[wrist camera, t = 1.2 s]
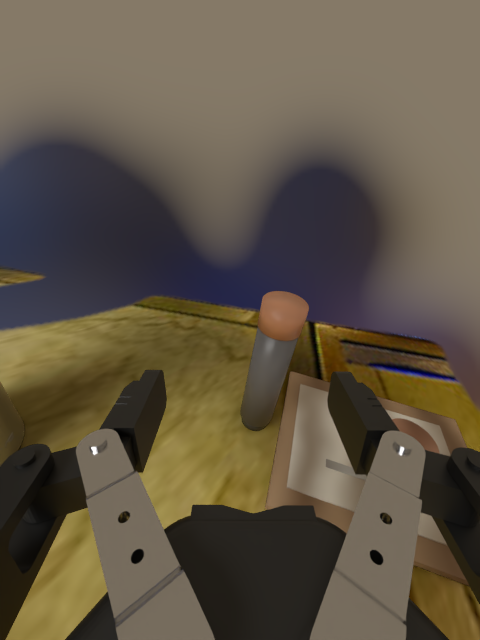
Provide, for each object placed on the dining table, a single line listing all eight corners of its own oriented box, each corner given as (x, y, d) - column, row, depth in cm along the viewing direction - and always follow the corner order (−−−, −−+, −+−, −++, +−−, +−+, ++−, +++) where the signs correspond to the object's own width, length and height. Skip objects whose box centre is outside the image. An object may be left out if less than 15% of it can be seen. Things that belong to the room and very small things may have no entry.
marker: (234, 427, 30) (257, 309, 21) (243, 401, 33) (267, 287, 24) (267, 438, 30) (307, 322, 20) (273, 410, 33) (310, 297, 23)
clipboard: (264, 508, 24) (268, 501, 23) (289, 375, 38) (292, 366, 37) (527, 608, 21) (543, 604, 20) (451, 423, 34) (458, 415, 34)
